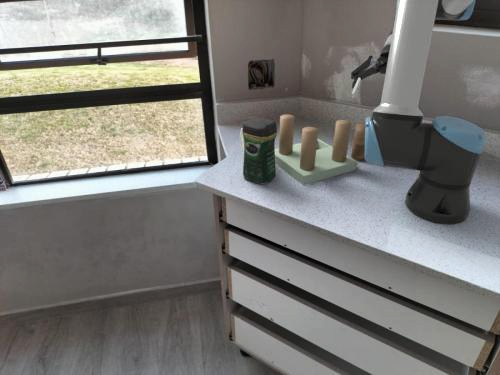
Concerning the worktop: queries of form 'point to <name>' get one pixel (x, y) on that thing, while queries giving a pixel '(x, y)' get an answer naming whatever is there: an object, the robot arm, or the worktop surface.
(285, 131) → the upturned stool
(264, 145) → the coffee jar
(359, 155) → the walnut leg
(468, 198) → the robot arm
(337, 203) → the worktop surface
